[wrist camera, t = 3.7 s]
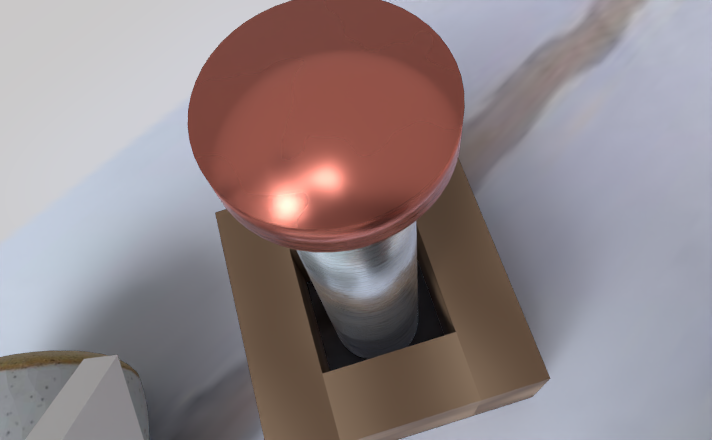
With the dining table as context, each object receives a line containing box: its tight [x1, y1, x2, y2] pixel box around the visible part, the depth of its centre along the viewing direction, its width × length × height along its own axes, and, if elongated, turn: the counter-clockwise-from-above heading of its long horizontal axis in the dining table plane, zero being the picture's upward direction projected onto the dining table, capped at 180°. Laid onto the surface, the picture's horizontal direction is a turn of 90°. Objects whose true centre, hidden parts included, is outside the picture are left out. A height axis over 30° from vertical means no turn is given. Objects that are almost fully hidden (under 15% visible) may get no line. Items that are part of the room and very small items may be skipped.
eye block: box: [215, 159, 550, 440], centre depth 26 cm, size 10×10×4 cm
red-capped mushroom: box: [188, 0, 464, 359], centre depth 20 cm, size 6×6×16 cm
